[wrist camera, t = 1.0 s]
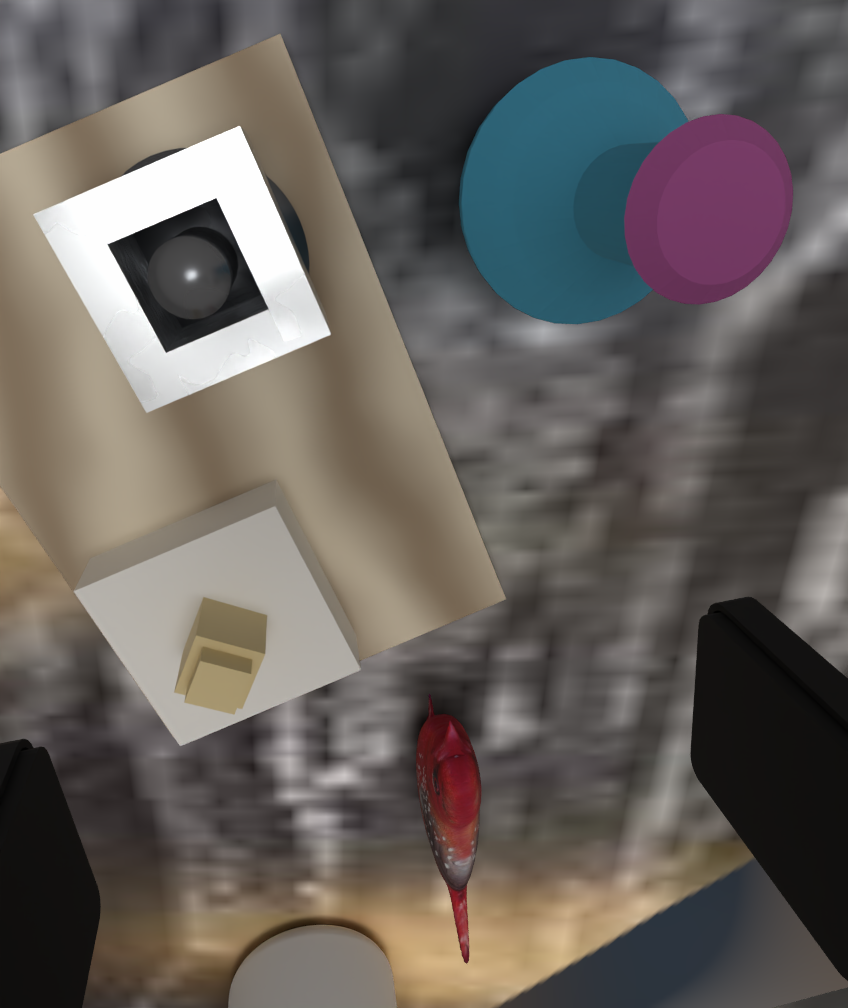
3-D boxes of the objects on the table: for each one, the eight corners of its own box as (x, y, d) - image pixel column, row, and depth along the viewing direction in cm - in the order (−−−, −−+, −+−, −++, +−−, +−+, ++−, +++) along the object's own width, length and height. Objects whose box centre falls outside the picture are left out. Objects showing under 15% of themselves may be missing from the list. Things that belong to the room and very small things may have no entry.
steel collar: (246, 131, 29) (239, 126, 24) (325, 312, 32) (331, 334, 27) (69, 207, 29) (33, 214, 25) (164, 380, 32) (146, 413, 27)
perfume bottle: (393, 200, 33) (469, 226, 19) (550, 16, 31) (757, -100, 17) (540, 347, 36) (694, 457, 22) (689, 188, 34) (953, 204, 21)
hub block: (276, 479, 35) (273, 549, 29) (356, 634, 39) (369, 726, 32) (90, 558, 35) (46, 645, 29) (187, 705, 39) (168, 810, 32)
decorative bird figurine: (449, 621, 41) (495, 750, 32) (469, 867, 48) (511, 1029, 39) (394, 630, 41) (425, 763, 32) (422, 876, 48) (454, 1041, 39)
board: (280, 39, 30) (280, 33, 28) (498, 584, 41) (505, 599, 39) (-156, 227, 30) (-177, 229, 29) (178, 719, 41) (174, 738, 39)
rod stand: (254, 113, 29) (246, 101, 24) (340, 315, 33) (350, 343, 27) (56, 198, 29) (5, 205, 24) (163, 390, 33) (139, 433, 27)
